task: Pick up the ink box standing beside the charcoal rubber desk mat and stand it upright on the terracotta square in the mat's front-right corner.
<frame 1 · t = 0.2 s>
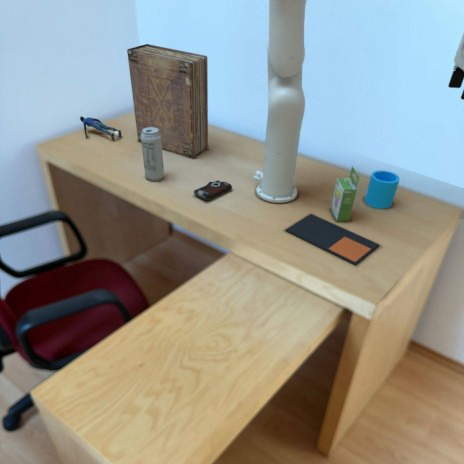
hand: (460, 93, 114), 31 cm above the table, tool pointing down, fingers open, 9 cm apart
book: (172, 146, 160), on the table
camera: (212, 193, 134), on the table
person figurine: (100, 135, 165), on the table
ink box: (339, 215, 127), on the table
mug: (377, 199, 135), on the table
desk mat: (331, 238, 118), on the table
energy drink can: (154, 178, 141), on the table
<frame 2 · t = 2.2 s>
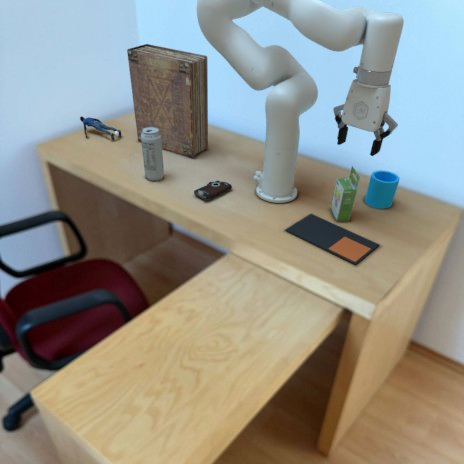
hand: (357, 148, 114), 20 cm above the table, tool pointing down, fingers open, 9 cm apart
nothing on the table moved.
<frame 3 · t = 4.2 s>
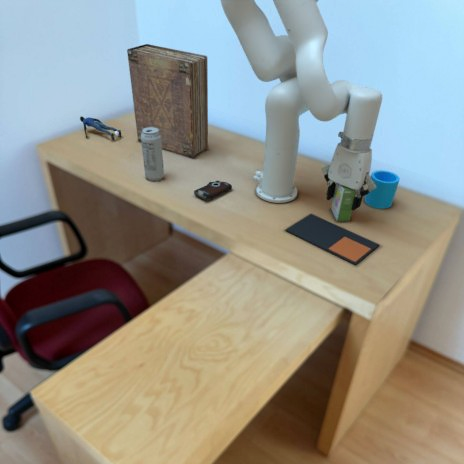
hand: (342, 203, 124), 4 cm above the table, tool pointing down, fingers closed on ink box, 7 cm apart
ink box: (339, 215, 127), on the table, touching gripper
everything else where it was.
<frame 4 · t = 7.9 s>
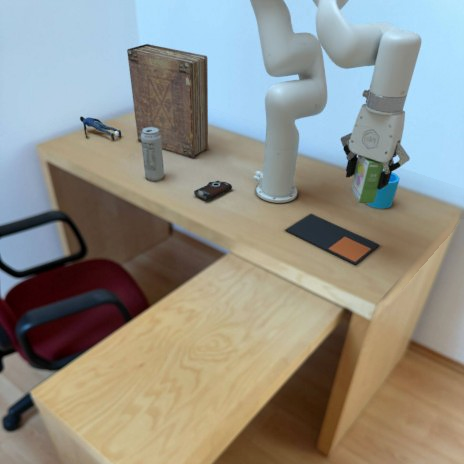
hand: (365, 181, 102), 19 cm above the table, tool pointing down, fingers closed on ink box, 7 cm apart
ink box: (361, 197, 105), point 15 cm above the table, touching gripper
everything else where it was.
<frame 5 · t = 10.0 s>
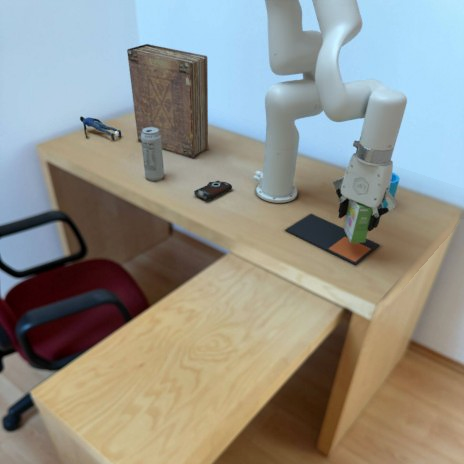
hand: (356, 221, 108), 9 cm above the table, tool pointing down, fingers closed on ink box, 7 cm apart
ink box: (353, 236, 111), point 4 cm above the table, touching gripper
everything else where it was.
when the fingers open (5 cm above the table, at t = 11.6 s): ink box stays where it is, resting on desk mat.
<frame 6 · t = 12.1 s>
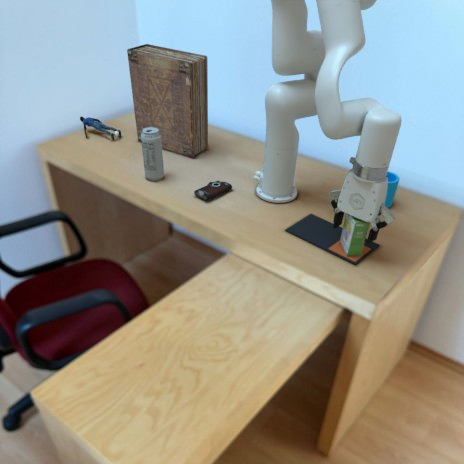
hand: (353, 233, 110), 5 cm above the table, tool pointing down, fingers open, 9 cm apart
ink box: (349, 249, 114), resting on desk mat
everything else where it was.
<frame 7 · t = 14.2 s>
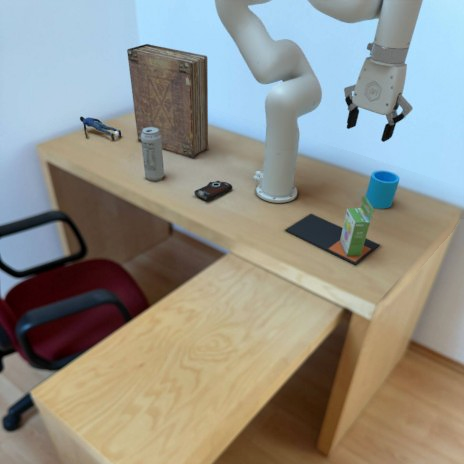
hand: (367, 133, 106), 25 cm above the table, tool pointing down, fingers open, 9 cm apart
nothing on the table moved.
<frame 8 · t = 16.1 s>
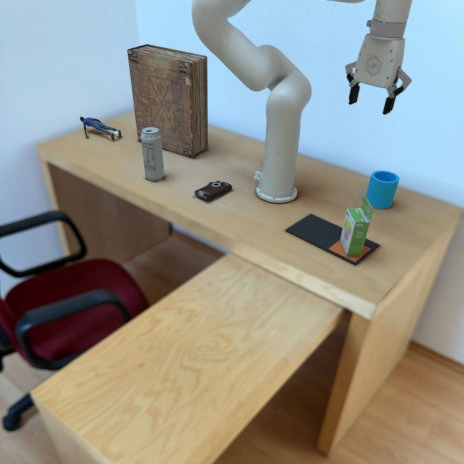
hand: (369, 108, 111), 28 cm above the table, tool pointing down, fingers open, 9 cm apart
nothing on the table moved.
at the end: ink box inside the target area (0.0 cm from its centre), resting on desk mat; ink box tilted 0°; the gripper is holding nothing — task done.
